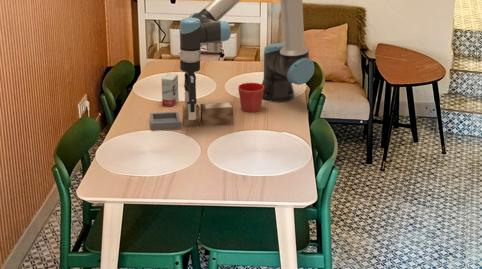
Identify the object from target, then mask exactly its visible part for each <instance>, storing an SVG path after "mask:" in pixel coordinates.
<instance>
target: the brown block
mask: <svg viewBox="0 0 482 269" xmlns="http://www.w3.org/2000/svg"><path fill="white" fill-rule="evenodd" d="M182 123H183V127H185V128H186V127H188V128H189V127H200V126H201V113H200V107H199V104H197V103H196V120H189V119H188V105H185V104H183V105H182Z"/></svg>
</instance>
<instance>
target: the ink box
mask: <svg viewBox="0 0 482 269" xmlns="http://www.w3.org/2000/svg"><path fill="white" fill-rule="evenodd" d="M161 100H162V101H161V104H162V106H164V107H166V106H167V107H174V106H175V105H176V104H177V103H178V101H179V75H178V73H171V72H170V73H169V72H167V73H165V75H163V76H162V77H161Z"/></svg>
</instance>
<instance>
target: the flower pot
mask: <svg viewBox="0 0 482 269" xmlns="http://www.w3.org/2000/svg"><path fill="white" fill-rule="evenodd" d="M237 90H238V95H239V101H240V106H241V110H242V111H244V112H245V113H255V112H256V113H257V112H258V111H260V110H261V108H262V104H263V103H262V102H263V100H264V99H263V93H264V86H263V85H262V83H258V82H245V83H241V84H239V85H238V88H237Z"/></svg>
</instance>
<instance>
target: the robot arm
mask: <svg viewBox="0 0 482 269" xmlns="http://www.w3.org/2000/svg"><path fill="white" fill-rule="evenodd" d="M241 1H242V0H211V1H210V2H209V3H208V4H207V5H206V6H205V7H204V8H203V9H201V11H199V12H194V13H191V14H190V15H189V16H188V17H185V18H182V19H181V20H180V23H179V50H180V51H178V54H179V58H180V60H179V68H180V71H181V72H184V85H183V87H184V105H188V119H189V120H196V105H197V87H196V85H197V84H196V83H197V82H196V81H197V80H196V79H197V76H196V73H198V72H199V71H200V70H201V44H208V43H222V42H226V41H228V40H230V38H231V35H232V34H231V33H232V30H231V26H230V24H229V22H228V21H226V20H222V21H221V19H222V18H224V16H225V15H226V14H228V13H229V12H230V11H231V10H233V8H234V7H235V6H236V5H237V4H238V3H240V2H241ZM279 3H280V18H281V31H282V33H281V34H282V42H278V43H277V42H276V43H275V42H274V43H269V44H266V45H265V47H264V48H263V49H264V51H263V79H262V82H261V84H262V85H263V86H264V93H263V99H262V100H264V101H269V102H277V103H278V102H279V103H280V102H288V101H291V100H293V99H294V97H295V90H294V87H293V84H294V85H303V84H306V83H307V82H308V81H310V79H311V78H312V77H313V76H314V72H315V64H314V61H313V60H312V59H311V58H310V54H309V48H308V47H307V46H306V45H305V29H304V8H303V7H304V6H303V0H279Z"/></svg>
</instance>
